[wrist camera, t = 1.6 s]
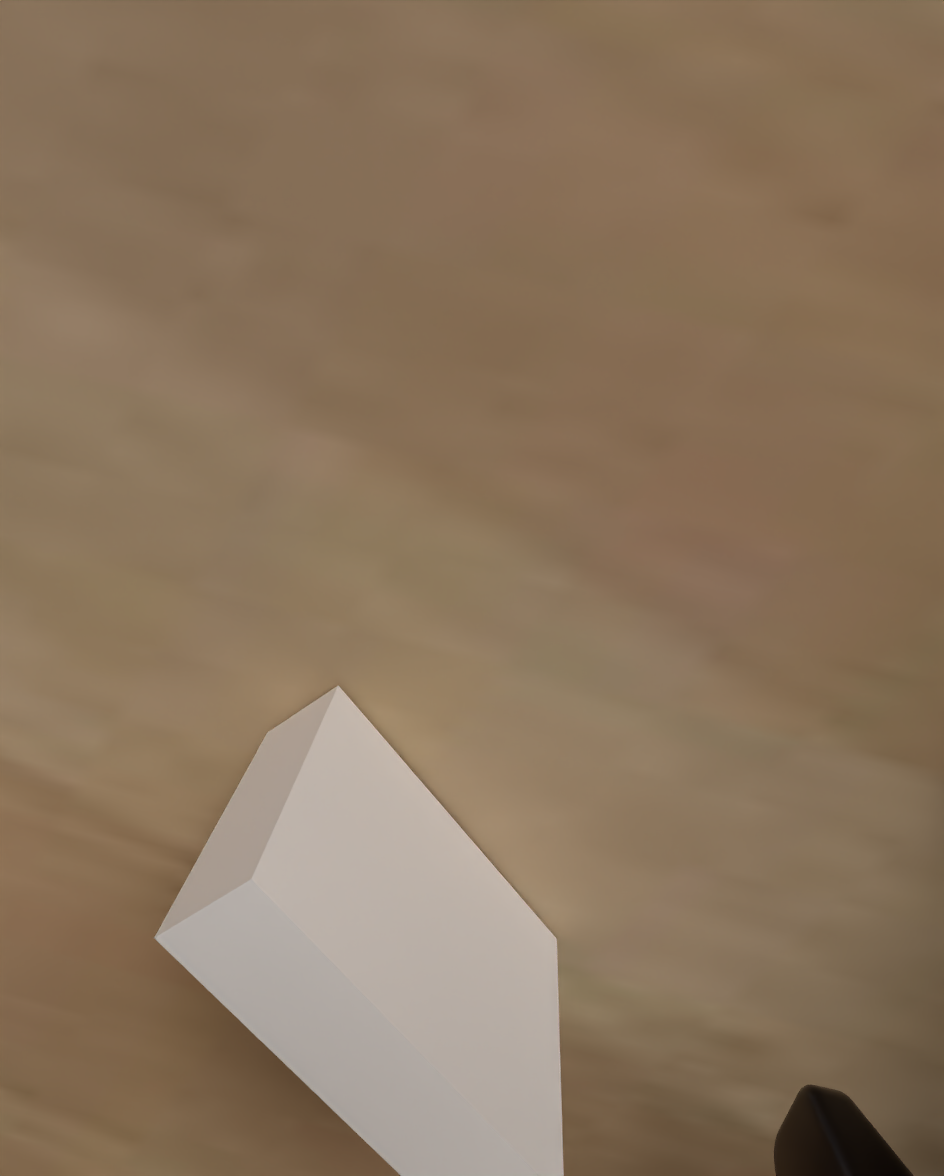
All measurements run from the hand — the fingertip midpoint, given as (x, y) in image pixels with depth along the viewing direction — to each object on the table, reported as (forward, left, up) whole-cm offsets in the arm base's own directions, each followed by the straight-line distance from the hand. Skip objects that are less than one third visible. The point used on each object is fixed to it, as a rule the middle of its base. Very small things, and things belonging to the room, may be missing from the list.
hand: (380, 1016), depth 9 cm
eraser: (0, 0, -3) cm, 3 cm away
